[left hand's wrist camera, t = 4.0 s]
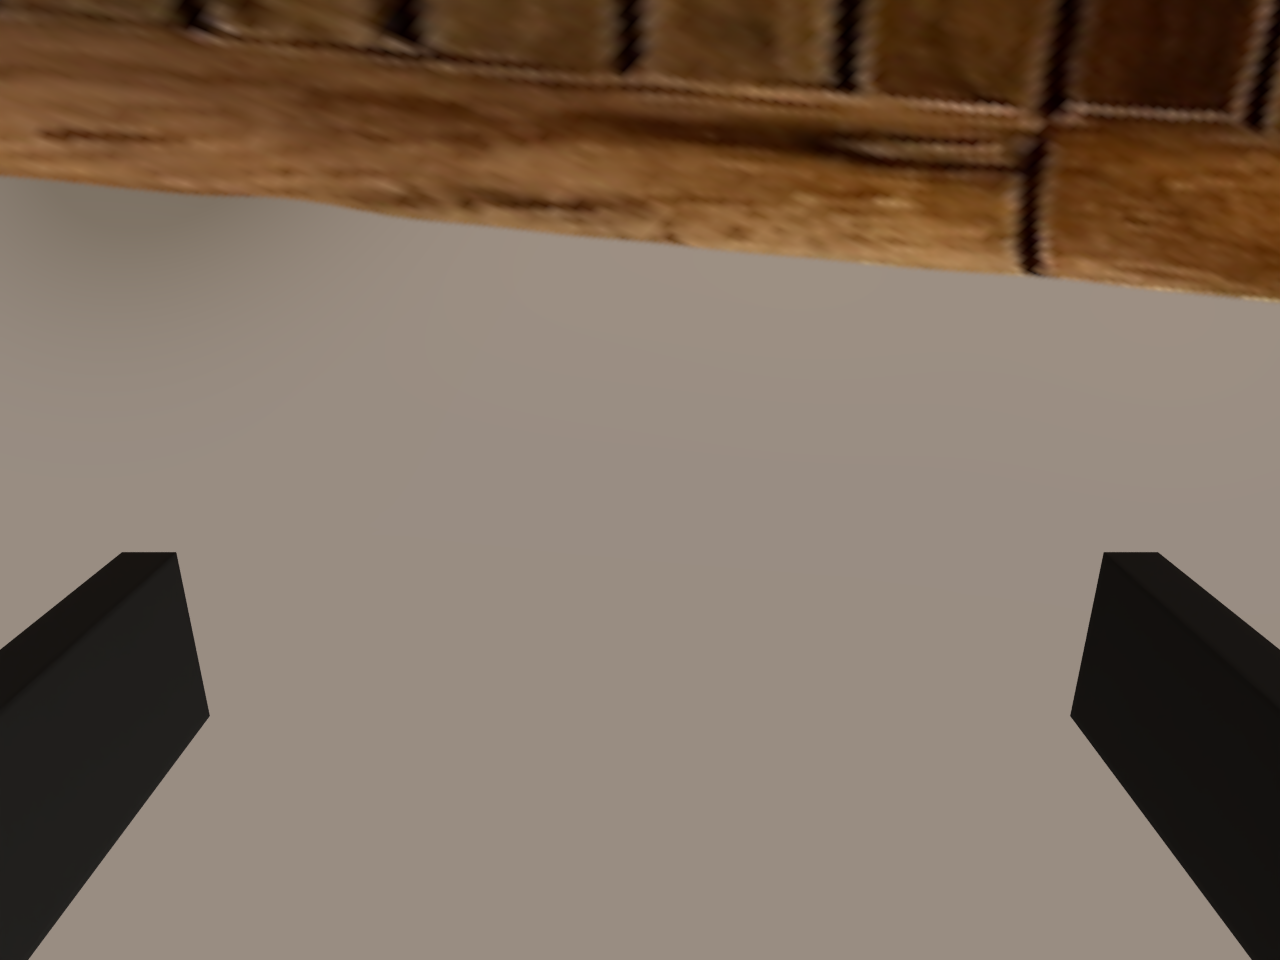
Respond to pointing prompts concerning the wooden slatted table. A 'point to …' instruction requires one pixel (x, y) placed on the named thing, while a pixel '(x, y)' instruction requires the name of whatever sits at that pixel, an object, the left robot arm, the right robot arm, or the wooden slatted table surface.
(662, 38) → the wooden slatted table surface
